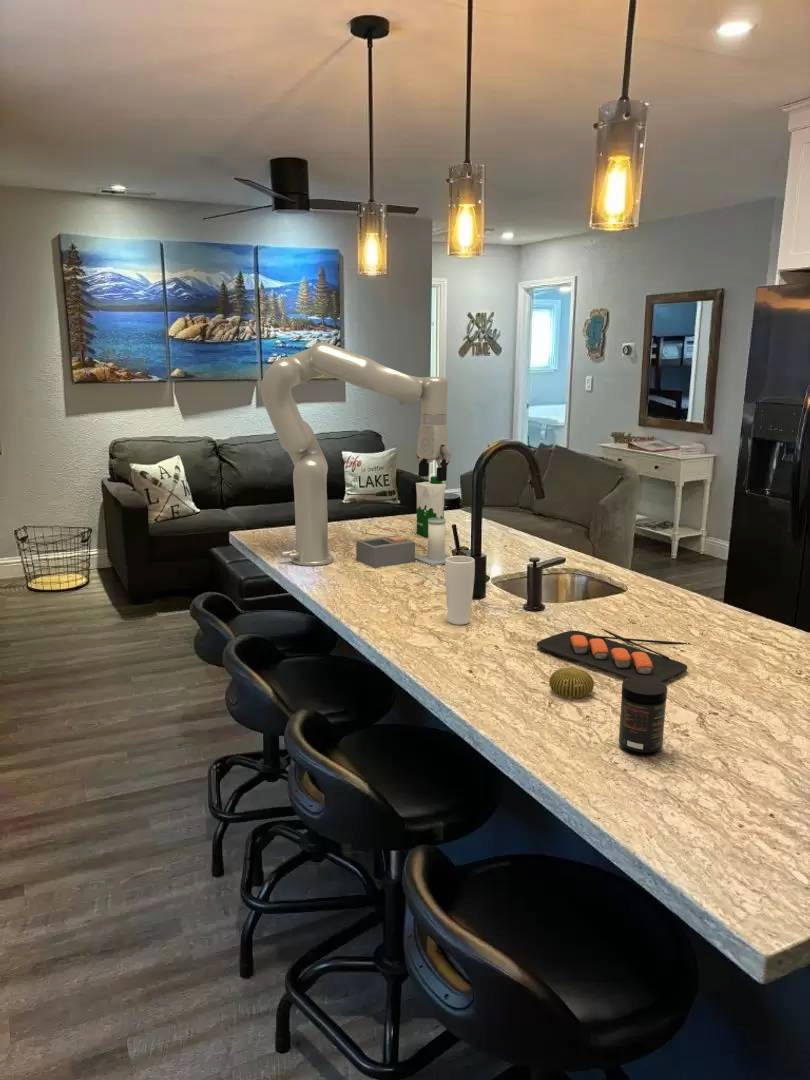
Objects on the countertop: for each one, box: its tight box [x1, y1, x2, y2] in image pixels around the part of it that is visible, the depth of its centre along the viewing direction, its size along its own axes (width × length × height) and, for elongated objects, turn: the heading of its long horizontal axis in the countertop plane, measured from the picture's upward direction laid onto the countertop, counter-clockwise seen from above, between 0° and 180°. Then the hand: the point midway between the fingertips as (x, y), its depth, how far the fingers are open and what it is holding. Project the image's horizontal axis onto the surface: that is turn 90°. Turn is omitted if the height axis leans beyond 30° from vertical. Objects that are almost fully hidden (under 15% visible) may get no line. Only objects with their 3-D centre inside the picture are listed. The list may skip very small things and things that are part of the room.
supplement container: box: [618, 678, 668, 757], centre depth 125 cm, size 7×7×10 cm
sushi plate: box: [536, 628, 691, 683], centre depth 168 cm, size 29×30×4 cm
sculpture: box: [549, 667, 595, 700], centre depth 147 cm, size 8×4×8 cm
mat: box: [415, 554, 451, 567], centre depth 241 cm, size 10×10×1 cm
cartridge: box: [427, 517, 446, 561], centre depth 240 cm, size 5×5×12 cm
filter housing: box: [355, 534, 416, 569], centre depth 241 cm, size 14×11×6 cm
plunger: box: [387, 535, 407, 542], centre depth 243 cm, size 4×4×5 cm
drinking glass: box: [444, 555, 476, 626], centre depth 185 cm, size 7×7×15 cm
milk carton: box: [415, 475, 447, 539], centre depth 274 cm, size 9×9×20 cm
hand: (432, 478), depth 237 cm, fingers open, 9 cm apart
